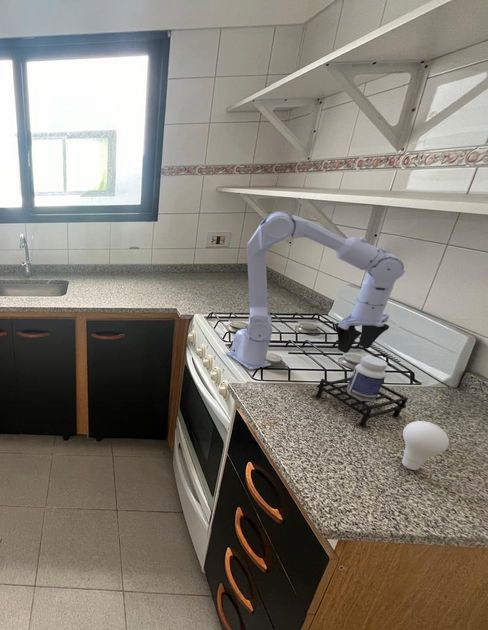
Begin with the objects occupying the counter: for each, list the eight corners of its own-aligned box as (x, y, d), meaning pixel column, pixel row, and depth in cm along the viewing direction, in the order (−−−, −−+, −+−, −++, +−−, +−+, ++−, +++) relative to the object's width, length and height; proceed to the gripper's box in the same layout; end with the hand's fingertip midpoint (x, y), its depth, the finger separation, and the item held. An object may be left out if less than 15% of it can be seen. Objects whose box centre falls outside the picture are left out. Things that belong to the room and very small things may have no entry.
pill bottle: (381, 402, 82) (397, 367, 78) (357, 402, 82) (371, 367, 78) (363, 388, 87) (377, 354, 83) (340, 387, 87) (353, 354, 83)
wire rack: (313, 395, 90) (319, 378, 88) (348, 387, 93) (354, 370, 91) (363, 428, 79) (372, 409, 77) (400, 417, 82) (410, 398, 80)
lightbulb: (388, 451, 73) (408, 410, 68) (427, 466, 69) (452, 423, 65) (388, 469, 69) (410, 426, 64) (431, 486, 65) (457, 442, 61)
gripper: (366, 311, 81) (348, 360, 86) (410, 304, 84) (389, 351, 90) (337, 300, 87) (321, 347, 92) (378, 294, 91) (361, 339, 96)
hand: (353, 348), depth 92 cm, fingers open, 7 cm apart
